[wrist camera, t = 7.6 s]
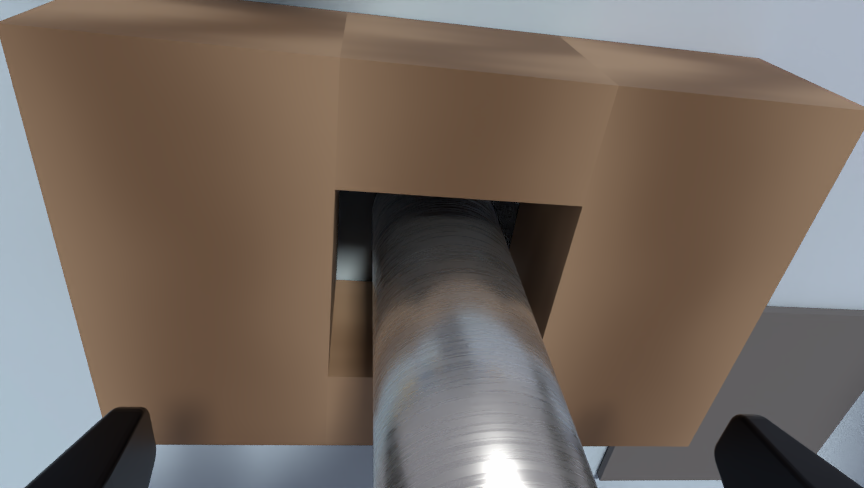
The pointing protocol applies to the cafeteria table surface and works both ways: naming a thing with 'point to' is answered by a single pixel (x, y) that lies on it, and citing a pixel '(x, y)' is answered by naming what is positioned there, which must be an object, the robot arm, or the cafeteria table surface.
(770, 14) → the cafeteria table surface
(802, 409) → the mat
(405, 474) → the pin
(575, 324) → the socket block
